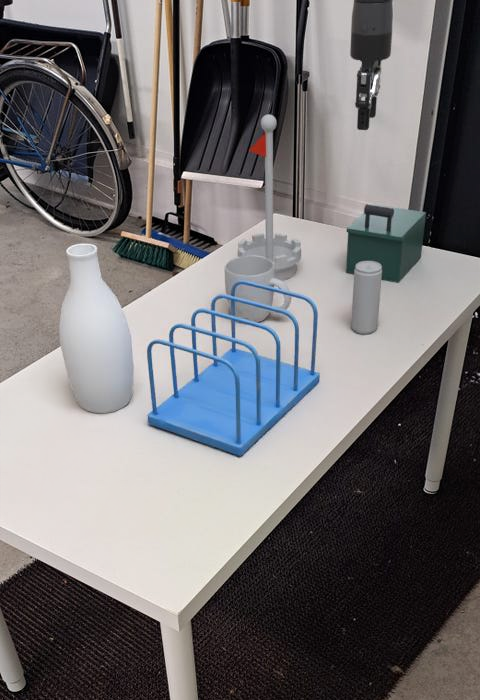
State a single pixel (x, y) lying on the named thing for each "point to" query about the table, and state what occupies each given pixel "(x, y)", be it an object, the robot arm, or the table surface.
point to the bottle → (95, 337)
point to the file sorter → (233, 383)
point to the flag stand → (271, 216)
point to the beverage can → (366, 297)
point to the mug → (254, 272)
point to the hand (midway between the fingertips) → (366, 123)
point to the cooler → (386, 252)
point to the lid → (386, 222)
